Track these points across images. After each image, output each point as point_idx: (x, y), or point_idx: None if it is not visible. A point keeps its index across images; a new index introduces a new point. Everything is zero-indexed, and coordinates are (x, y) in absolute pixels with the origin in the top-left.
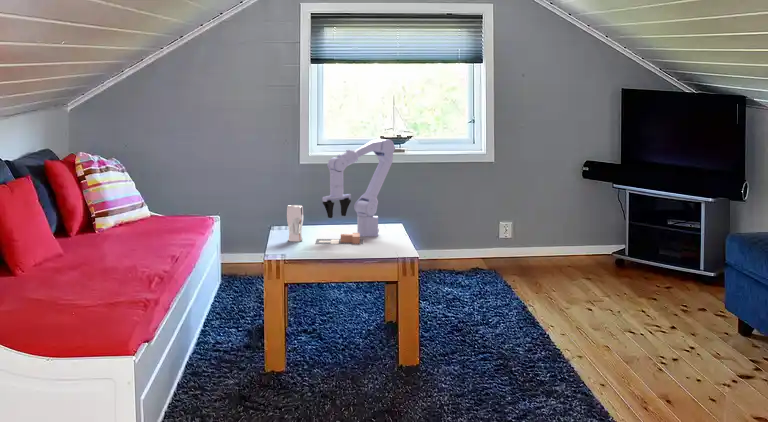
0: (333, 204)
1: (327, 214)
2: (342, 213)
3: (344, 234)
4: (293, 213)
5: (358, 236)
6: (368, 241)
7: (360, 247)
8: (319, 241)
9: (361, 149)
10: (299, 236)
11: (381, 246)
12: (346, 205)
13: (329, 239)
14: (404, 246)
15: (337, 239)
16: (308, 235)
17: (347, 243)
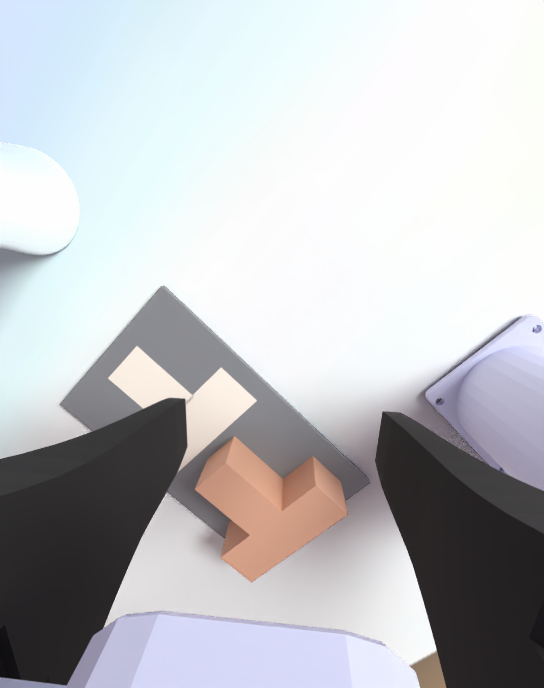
0: (67, 680)
1: (146, 409)
2: (389, 443)
3: (230, 489)
4: None
5: (247, 577)
6: (355, 519)
7: (211, 577)
8: (124, 364)
9: None
10: (12, 249)
11: (299, 621)
12: (434, 634)
13: (213, 358)
14: None
15: (250, 391)
16: (227, 85)
17: (211, 504)
